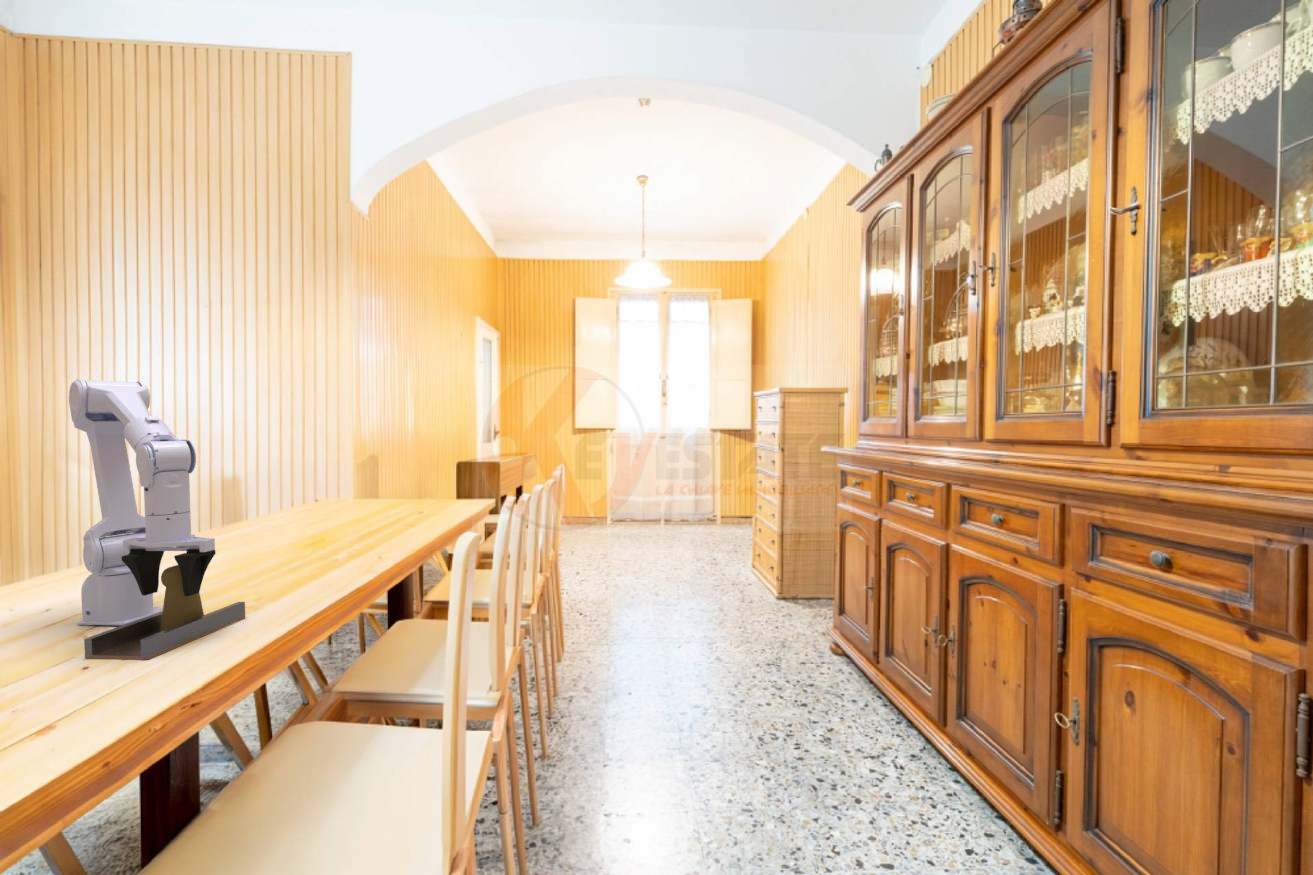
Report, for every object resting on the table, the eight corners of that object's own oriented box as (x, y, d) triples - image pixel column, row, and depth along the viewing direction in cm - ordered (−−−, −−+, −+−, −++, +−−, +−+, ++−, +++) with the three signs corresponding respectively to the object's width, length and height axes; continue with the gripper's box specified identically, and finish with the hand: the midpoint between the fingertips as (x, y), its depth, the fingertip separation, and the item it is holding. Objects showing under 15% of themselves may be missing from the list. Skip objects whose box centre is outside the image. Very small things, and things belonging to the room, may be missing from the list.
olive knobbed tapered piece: (178, 637, 92) (176, 570, 91) (150, 634, 93) (147, 569, 93) (215, 624, 97) (212, 561, 97) (187, 622, 99) (185, 560, 99)
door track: (85, 658, 85) (84, 638, 85) (192, 617, 103) (191, 601, 103) (148, 659, 84) (147, 639, 84) (245, 618, 102) (244, 601, 102)
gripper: (229, 509, 96) (231, 587, 97) (151, 509, 98) (153, 586, 98) (192, 516, 89) (194, 600, 90) (108, 515, 90) (111, 599, 91)
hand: (170, 593), depth 93 cm, fingers open, 7 cm apart
